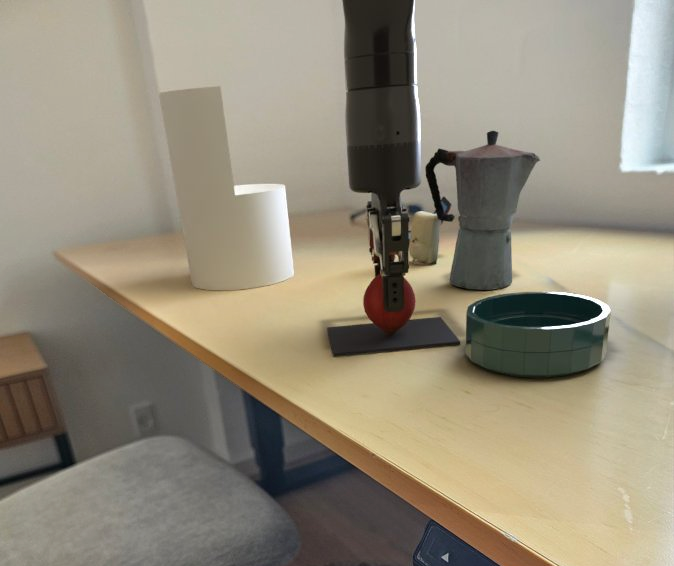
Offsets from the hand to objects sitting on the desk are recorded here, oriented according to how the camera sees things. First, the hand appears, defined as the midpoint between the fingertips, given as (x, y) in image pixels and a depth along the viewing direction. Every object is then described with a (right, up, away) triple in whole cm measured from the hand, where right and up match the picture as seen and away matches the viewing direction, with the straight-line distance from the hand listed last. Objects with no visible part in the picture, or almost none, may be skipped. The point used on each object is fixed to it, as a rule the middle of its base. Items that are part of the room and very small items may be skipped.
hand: (389, 302), depth 74 cm
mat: (0, -4, +2) cm, 4 cm away
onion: (0, -3, +2) cm, 4 cm away
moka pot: (+15, +7, +21) cm, 27 cm away
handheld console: (+11, +24, +55) cm, 61 cm away
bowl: (+14, -7, -8) cm, 17 cm away
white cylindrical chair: (-22, +12, +37) cm, 44 cm away
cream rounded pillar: (+9, +15, +37) cm, 41 cm away
